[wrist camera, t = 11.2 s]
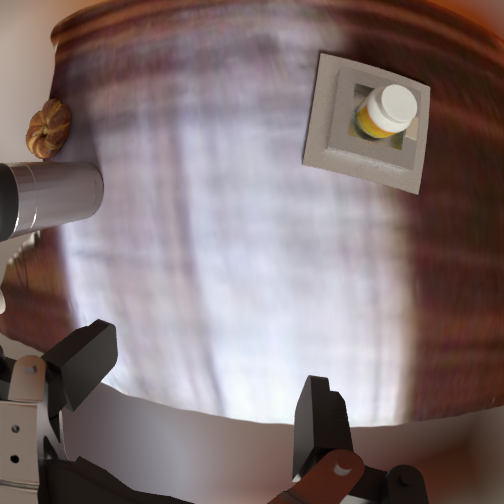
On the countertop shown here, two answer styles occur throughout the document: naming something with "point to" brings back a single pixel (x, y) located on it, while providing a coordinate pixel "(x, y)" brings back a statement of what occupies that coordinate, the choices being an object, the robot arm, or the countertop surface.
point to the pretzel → (48, 129)
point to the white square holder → (352, 139)
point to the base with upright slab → (2, 302)
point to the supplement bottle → (386, 111)
